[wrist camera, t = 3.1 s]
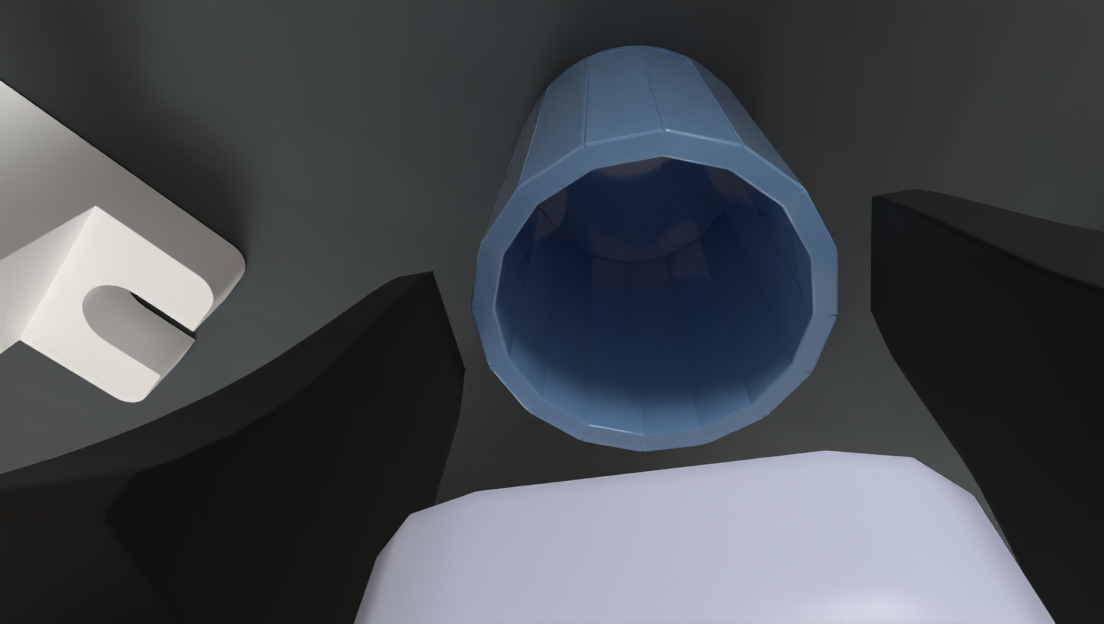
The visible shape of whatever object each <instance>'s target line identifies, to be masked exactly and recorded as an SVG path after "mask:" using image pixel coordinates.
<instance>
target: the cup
mask: <svg viewBox="0 0 1104 624" xmlns="http://www.w3.org/2000/svg"><path fill="white" fill-rule="evenodd" d="M471 312H472V315H473V318H474V322H475V325H476V328H477V331H478V335H479V338H480V341H481V344H482V347H483V351H484V354H485V357H486V360H487V363H488V365H489V366H490V369H491V370H492V371H493V372H494V373H495V374H496V376H497V377H498V378H499V379H500V380H501V381H502V383H503V384H504V385H505V386H506V387H507V388H508V390H509V391H510V392H511V393H512V394H513V395H514V397H515V398H516V399H517V400H518V401H519V402H520V404H521V405H522V406H523V407H524V408H525V409H526V410H528V412H529V413H531V414H533V415H535V416H536V417H538V418H540V419H542V420H544V421H545V422H547V423H549V424H551V425H553V426H555V427H556V428H558V429H560V430H562V431H564V432H566V433H567V434H569V435H571V436H573V437H575V438H576V439H578V440H582V441H584V442H590V443H595V444H601V445H606V446H612V447H617V448H623V449H628V450H634V451H639V452H641V451H642V450H643V451H644V452H648V451H656V450H664V449H672V448H680V447H688V446H697V445H704V444H705V443H710V442H712V441H715V440H717V439H719V438H721V437H723V436H726V435H728V434H730V433H732V432H734V431H737V430H739V429H741V428H743V427H745V426H748V425H750V424H752V423H754V422H756V421H759V420H761V419H763V418H764V416H767V415H768V414H769V413H770V412H772V411H773V410H774V409H775V408H776V407H777V406H778V405H779V404H780V403H781V402H782V401H783V400H784V399H785V398H786V397H787V396H788V395H789V394H790V393H792V392H793V391H794V390H795V389H796V388H797V387H798V386H799V385H800V384H801V383H802V382H803V381H804V380H805V379H806V378H807V377H808V376H809V375H810V374H811V372H812V371H813V370H814V367H815V365H816V363H817V361H818V359H819V356H820V354H821V352H822V350H823V348H824V345H825V343H826V341H827V339H828V337H829V334H830V332H831V330H832V328H833V326H834V324H835V321H836V319H837V314H838V312H839V297H838V251H837V249H836V244H835V243H834V241H833V239H832V237H831V235H830V233H829V231H828V229H827V228H826V226H825V224H824V222H823V220H822V218H821V216H820V214H819V213H818V211H817V209H816V207H815V205H814V203H813V201H812V200H811V198H810V196H809V194H808V192H807V190H806V189H805V188H804V186H803V185H802V184H801V182H800V181H799V180H798V178H797V177H796V176H795V174H794V173H793V172H792V170H791V169H790V168H789V167H788V165H787V164H786V163H785V161H784V160H783V159H782V157H781V156H780V155H779V153H778V152H777V151H776V149H775V148H774V147H773V145H772V144H771V143H770V141H769V140H768V139H767V137H766V136H765V135H764V134H763V132H762V131H761V130H760V128H759V127H758V126H757V124H756V123H755V122H754V120H753V119H752V118H751V116H750V115H749V114H748V112H747V111H746V110H745V108H744V107H743V106H742V104H741V103H740V102H739V101H738V99H737V98H736V97H735V95H734V94H733V93H732V91H731V90H730V89H729V87H728V86H727V85H726V84H725V83H724V82H722V81H721V80H720V79H718V78H717V77H716V76H715V75H714V74H713V73H712V72H710V71H709V70H708V69H707V68H706V67H704V66H703V65H701V64H700V63H698V62H696V61H695V60H693V59H692V58H689V57H687V56H685V55H683V54H680V53H678V52H675V51H671V50H668V49H664V48H660V47H652V46H624V47H617V48H612V49H608V50H605V51H601V52H598V53H595V54H593V55H591V56H589V57H586V58H584V59H582V60H580V61H579V62H577V63H575V64H574V65H572V66H571V67H569V68H568V69H566V70H565V71H564V72H563V73H561V74H560V75H559V76H558V77H557V78H556V79H555V80H554V81H553V82H552V83H551V84H550V85H549V86H548V87H547V88H546V89H545V91H544V92H543V93H542V95H541V96H540V97H539V99H538V100H537V102H536V104H535V105H534V107H533V109H532V111H531V113H530V115H529V117H528V118H527V120H526V121H525V123H524V125H523V127H522V130H521V133H520V136H519V138H518V141H517V144H516V147H515V149H514V152H513V155H512V158H511V160H510V163H509V166H508V169H507V171H506V174H505V177H504V180H503V182H502V185H501V188H500V191H499V193H498V196H497V199H496V202H495V204H494V207H493V210H492V213H491V216H490V218H489V221H488V224H487V227H486V229H485V232H484V235H483V238H482V240H481V243H480V246H479V250H478V257H477V264H476V271H475V278H474V285H473V292H472V299H471Z"/></svg>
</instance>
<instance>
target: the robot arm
mask: <svg viewBox="0 0 1104 624" xmlns="http://www.w3.org/2000/svg"><path fill="white" fill-rule="evenodd" d="M871 312H872V314H873V316H874V318H875V321H876V323H877V325H878V327H879V330H880V332H881V334H882V336H883V339H884V341H885V343H886V345H887V347H888V349H889V351H890V353H891V355H892V357H893V358H894V360H895V362H896V363H897V365H898V366H899V368H900V369H901V371H902V372H903V374H904V375H905V377H906V378H907V380H908V381H909V383H910V384H911V386H912V387H913V388H914V390H915V391H916V393H917V394H918V396H919V397H920V399H921V400H922V402H923V403H924V405H925V406H926V407H927V409H928V410H929V412H930V413H931V415H932V416H933V418H934V419H935V420H936V422H937V423H938V425H939V426H940V428H941V429H942V431H943V432H944V433H945V435H946V436H947V438H948V439H949V441H950V442H951V444H952V445H953V447H954V448H955V449H956V451H957V452H958V454H959V455H960V457H961V458H962V460H963V461H964V463H965V464H966V466H967V468H968V469H969V471H970V472H971V474H972V476H973V477H974V479H975V481H976V482H977V484H978V486H979V487H980V489H981V491H982V493H983V495H984V497H985V499H986V501H987V503H988V504H989V506H990V508H991V510H992V512H993V514H994V516H995V518H996V520H997V522H998V524H999V526H1000V527H1001V529H1002V531H1003V533H1004V535H1005V537H1006V539H1007V541H1008V543H1009V545H1010V547H1011V549H1012V551H1013V553H1014V555H1015V557H1016V559H1017V561H1018V563H1019V565H1020V567H1021V569H1022V571H1023V572H1022V571H1021V569H1020V567H1019V566H1018V564H1017V563H1016V561H1015V560H1014V558H1013V557H1012V555H1011V553H1010V552H1009V550H1008V549H1007V547H1006V546H1005V544H1004V543H1003V541H1002V539H1001V538H1000V536H999V535H998V533H997V532H996V530H995V529H994V527H993V525H992V524H991V522H990V521H989V519H988V518H987V516H986V514H985V513H984V511H983V510H982V508H981V507H980V505H979V504H978V502H977V500H976V499H975V497H974V496H973V495H972V494H970V493H969V492H967V491H966V490H964V489H962V488H961V487H959V486H958V485H956V484H954V483H953V482H951V481H950V480H948V479H946V478H945V477H943V476H942V475H940V474H938V473H937V472H935V471H934V470H932V469H930V468H929V467H927V466H926V465H924V464H922V463H921V462H919V461H917V460H916V459H914V458H913V457H900V456H887V455H875V454H862V453H849V452H836V451H818V452H810V453H801V454H793V455H784V456H776V457H767V458H759V459H750V460H741V461H733V462H724V463H716V464H707V465H699V466H690V467H682V468H673V469H664V470H656V471H647V472H639V473H630V474H622V475H613V476H605V477H596V478H587V479H579V480H570V481H562V482H553V483H545V484H536V485H528V486H519V487H510V488H502V489H493V490H485V491H476V492H473V493H471V494H468V495H465V496H462V497H459V498H456V499H453V500H450V501H447V502H445V503H442V504H439V505H436V506H433V505H434V502H435V498H436V495H437V491H438V488H439V485H440V481H441V478H442V474H443V471H444V468H445V464H446V461H447V457H448V454H449V451H450V447H451V444H452V440H453V436H454V433H455V429H456V426H457V422H458V418H459V414H460V407H461V399H462V392H463V382H464V373H465V367H464V364H463V361H462V358H461V355H460V352H459V349H458V346H457V343H456V340H455V337H454V334H453V331H452V328H451V325H450V322H449V319H448V316H447V313H446V310H445V307H444V304H443V301H442V298H441V295H440V292H439V289H438V286H437V283H436V280H435V277H434V274H433V271H430V272H424V273H419V274H413V275H407V276H401V277H398V278H396V279H393V280H391V281H389V282H388V283H386V284H384V285H383V286H381V287H379V288H378V289H376V290H375V291H373V292H372V293H370V294H369V295H367V296H366V297H365V298H363V299H362V300H360V301H359V302H357V303H356V304H355V305H353V306H352V307H350V308H349V309H348V310H346V311H345V312H343V313H342V314H341V315H339V316H338V317H336V318H335V319H334V320H332V321H331V322H329V323H328V324H327V325H325V326H324V327H322V328H321V329H319V330H318V331H316V332H315V333H313V334H312V335H310V336H309V337H307V338H306V339H304V340H303V341H301V342H300V343H298V344H297V345H295V346H294V347H292V348H291V349H289V350H288V351H286V352H285V353H283V354H282V355H280V356H279V357H277V358H275V359H274V360H272V361H271V362H269V363H267V364H266V365H264V366H262V367H261V368H259V369H257V370H255V371H254V372H252V373H250V374H248V375H247V376H245V377H243V378H241V379H239V380H237V381H235V382H234V383H232V384H230V385H228V386H226V387H224V388H223V389H221V390H219V391H217V392H215V393H213V394H211V395H209V396H207V397H204V398H202V399H200V400H198V401H196V402H194V403H191V404H189V405H187V406H185V407H183V408H180V409H178V410H176V411H174V412H172V413H170V414H167V415H165V416H163V417H161V418H159V419H157V420H154V421H152V422H150V423H147V424H145V425H142V426H140V427H137V428H135V429H132V430H130V431H127V432H125V433H122V434H120V435H117V436H115V437H112V438H109V439H106V440H104V441H101V442H98V443H95V444H93V445H90V446H87V447H84V448H82V449H79V450H76V451H73V452H70V453H67V454H64V455H61V456H58V457H55V458H52V459H49V460H46V461H42V462H39V463H36V464H33V465H29V466H26V467H23V468H19V469H16V470H13V471H10V472H6V473H3V474H0V624H1104V232H1100V231H1095V230H1090V229H1085V228H1081V227H1076V226H1071V225H1066V224H1062V223H1057V222H1053V221H1049V220H1045V219H1040V218H1036V217H1032V216H1028V215H1024V214H1020V213H1016V212H1013V211H1009V210H1005V209H1001V208H997V207H993V206H990V205H986V204H982V203H978V202H974V201H971V200H967V199H963V198H959V197H955V196H951V195H946V194H942V193H937V192H932V191H926V190H916V189H913V190H907V191H901V192H895V193H889V194H883V195H877V196H872V232H871ZM1023 573H1024V574H1023Z"/></svg>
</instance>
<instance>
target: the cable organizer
mask: <svg viewBox="0 0 1104 624" xmlns="http://www.w3.org/2000/svg"><path fill="white" fill-rule="evenodd" d="M244 272H245V261H244V258H243V256H242V254H241V253H240V252H239V251H238V249H237V248H235V247H234V246H233V245H232V244H230V243H229V242H227V241H226V240H224V239H223V238H222V237H220V236H219V235H217V234H216V233H215V232H213V231H212V230H210V229H209V228H208V227H206V226H205V225H203V224H202V223H200V222H199V221H198V220H196V219H195V218H193V217H192V216H191V215H189V214H188V213H186V212H185V211H184V210H182V209H181V208H179V207H178V206H176V205H175V204H174V203H172V202H171V201H169V200H168V199H167V198H165V197H164V196H162V195H161V194H160V193H158V192H157V191H155V190H154V189H153V188H151V187H150V186H148V185H147V184H145V183H144V182H143V181H141V180H140V179H138V178H137V177H136V176H134V175H133V174H131V173H130V172H129V171H127V170H126V169H124V168H123V167H121V166H120V165H119V164H117V163H116V162H114V161H113V160H112V159H110V158H109V157H107V156H106V155H105V154H103V153H102V152H100V151H99V150H97V149H96V148H95V147H93V146H92V145H90V144H89V143H88V142H86V141H85V140H83V139H82V138H81V137H79V136H78V135H76V134H75V133H74V132H72V131H71V130H69V129H68V128H66V127H65V126H64V125H62V124H61V123H59V122H58V121H57V120H55V119H54V118H52V117H51V116H50V115H48V114H47V113H45V112H44V111H42V110H41V109H40V108H38V107H37V106H35V105H34V104H33V103H31V102H30V101H28V100H27V99H26V98H24V97H23V96H21V95H20V94H18V93H17V92H16V91H14V90H13V89H11V88H10V87H9V86H7V85H6V84H4V83H3V82H2V81H0V354H1V353H2V352H3V351H5V350H6V349H7V348H9V347H10V346H12V345H13V344H14V343H16V342H17V341H18V340H21V341H23V342H24V343H26V344H28V345H29V346H31V347H33V348H34V349H36V350H38V351H39V352H41V353H43V354H44V355H46V356H48V357H49V358H51V359H53V360H54V361H56V362H58V363H59V364H61V365H62V366H64V367H66V368H67V369H69V370H71V371H72V372H74V373H76V374H77V375H79V376H81V377H82V378H84V379H86V380H87V381H89V382H91V383H92V384H94V385H96V386H97V387H99V388H101V389H102V390H104V391H106V392H107V393H109V394H111V395H112V396H114V397H116V398H117V399H120V400H122V401H126V402H139V401H141V400H143V399H144V398H145V397H146V396H147V395H148V394H149V393H150V392H151V391H152V390H153V389H154V388H155V387H156V386H157V384H158V383H159V382H160V381H161V380H162V379H163V378H164V377H165V376H166V375H167V374H168V373H169V372H170V371H171V370H172V369H173V368H174V366H175V365H176V364H177V363H178V362H179V361H180V360H181V359H182V357H183V356H184V355H185V353H186V352H187V351H188V349H189V348H190V347H191V345H192V344H193V342H194V341H195V339H193V338H191V337H190V336H188V335H187V334H185V333H184V332H182V331H181V330H179V329H178V328H176V327H175V326H173V325H172V324H170V323H168V322H167V321H165V320H164V319H162V318H161V317H159V316H158V315H156V314H155V313H153V312H152V311H150V310H149V309H147V308H145V307H144V306H143V305H142V304H140V303H139V302H138V301H137V300H136V299H135V298H134V297H133V296H132V294H131V293H130V291H131V292H133V293H135V294H136V295H138V296H139V297H141V298H143V299H144V300H146V301H147V302H149V303H150V304H152V305H153V306H155V307H156V308H158V309H159V310H161V311H162V312H164V313H165V314H167V315H168V316H170V317H172V318H173V319H175V320H176V321H178V322H179V323H181V324H182V325H184V326H185V327H187V328H188V329H190V330H191V331H194V330H195V329H196V328H197V327H198V326H199V325H200V324H201V323H202V322H203V321H204V320H205V319H206V318H207V317H208V316H209V315H210V314H211V313H212V312H213V311H214V310H215V309H216V308H217V307H218V306H219V305H220V304H221V303H222V302H223V301H224V300H225V299H226V298H227V296H228V295H229V294H230V292H231V291H232V289H233V288H234V287H235V285H236V284H237V283H238V281H239V280H240V279H241V277H242V276H243V274H244Z"/></svg>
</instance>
